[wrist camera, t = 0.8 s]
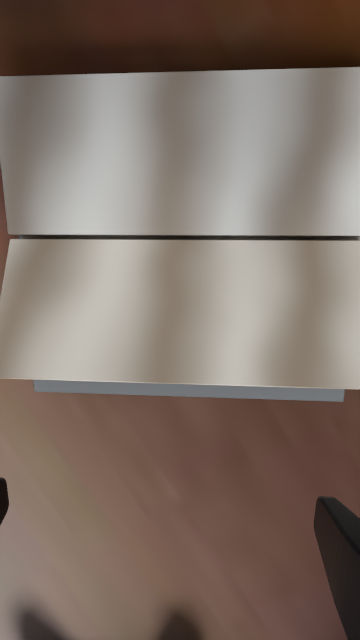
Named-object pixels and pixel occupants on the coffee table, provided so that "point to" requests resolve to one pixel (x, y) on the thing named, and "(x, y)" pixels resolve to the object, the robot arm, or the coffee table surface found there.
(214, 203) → the plank
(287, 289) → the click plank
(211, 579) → the coffee table surface
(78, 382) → the underlay mat
